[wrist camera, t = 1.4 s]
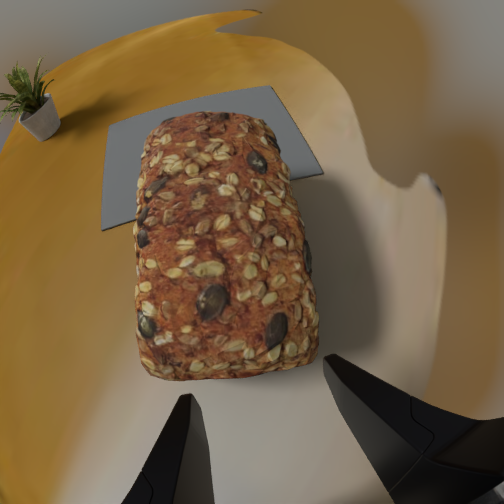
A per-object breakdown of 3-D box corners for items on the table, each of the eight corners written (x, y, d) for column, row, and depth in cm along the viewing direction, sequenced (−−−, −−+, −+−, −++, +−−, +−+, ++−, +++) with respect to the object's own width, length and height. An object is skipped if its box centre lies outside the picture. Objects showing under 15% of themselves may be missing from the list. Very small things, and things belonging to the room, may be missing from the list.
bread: (169, 184, 27) (139, 111, 18) (271, 171, 27) (276, 92, 18) (174, 376, 20) (117, 384, 11) (305, 362, 20) (345, 363, 11)
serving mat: (322, 174, 28) (323, 172, 27) (102, 231, 25) (101, 230, 25) (269, 87, 34) (269, 85, 34) (110, 127, 32) (109, 125, 32)
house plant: (8, 157, 32) (-33, 102, 17) (52, 106, 37) (22, 49, 22) (36, 168, 30) (-17, 97, 15) (89, 107, 35) (55, 34, 20)
